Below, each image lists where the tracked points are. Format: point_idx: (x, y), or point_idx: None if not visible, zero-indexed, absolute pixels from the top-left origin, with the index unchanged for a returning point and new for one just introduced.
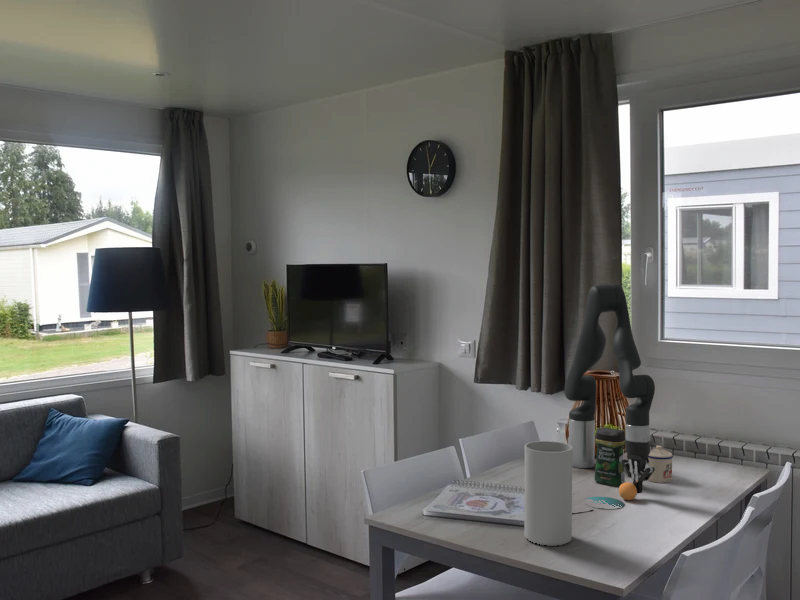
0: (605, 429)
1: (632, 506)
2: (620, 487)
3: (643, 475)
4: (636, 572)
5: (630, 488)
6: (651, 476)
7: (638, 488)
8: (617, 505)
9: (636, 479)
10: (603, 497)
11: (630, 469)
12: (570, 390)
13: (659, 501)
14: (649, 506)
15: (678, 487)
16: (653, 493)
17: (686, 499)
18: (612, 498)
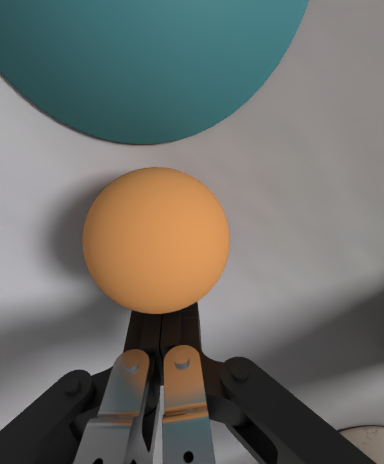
0: None
1: (18, 156)
2: (165, 196)
3: (4, 448)
4: None
5: (86, 250)
6: (364, 452)
7: (138, 316)
8: (24, 35)
9: (128, 368)
10: (262, 52)
11: (201, 451)
12: None
13: (95, 334)
14: (14, 253)
15: (243, 454)
16: None
17: None
18: (209, 114)
